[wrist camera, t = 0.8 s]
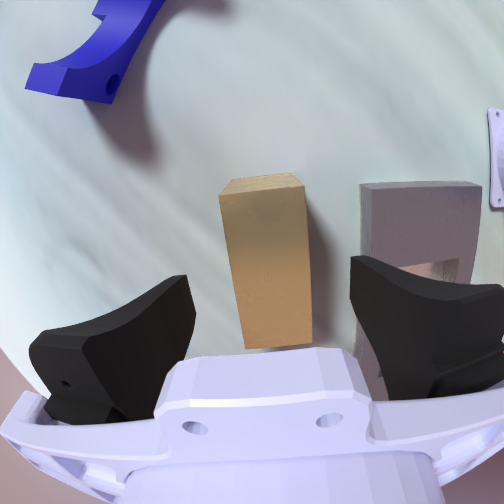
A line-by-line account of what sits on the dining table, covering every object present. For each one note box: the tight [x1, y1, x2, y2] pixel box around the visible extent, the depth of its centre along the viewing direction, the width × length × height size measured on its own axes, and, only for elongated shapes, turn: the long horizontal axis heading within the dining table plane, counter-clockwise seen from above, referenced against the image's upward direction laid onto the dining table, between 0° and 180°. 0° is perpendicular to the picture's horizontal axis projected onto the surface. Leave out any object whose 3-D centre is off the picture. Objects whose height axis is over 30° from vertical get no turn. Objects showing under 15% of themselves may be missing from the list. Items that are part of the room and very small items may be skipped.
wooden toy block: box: [219, 173, 312, 349], centre depth 15 cm, size 4×8×6 cm, turn 7°
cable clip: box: [25, 0, 165, 104], centre depth 10 cm, size 12×4×6 cm, turn 155°
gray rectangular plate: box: [353, 181, 482, 401], centre depth 18 cm, size 9×20×2 cm, turn 7°
